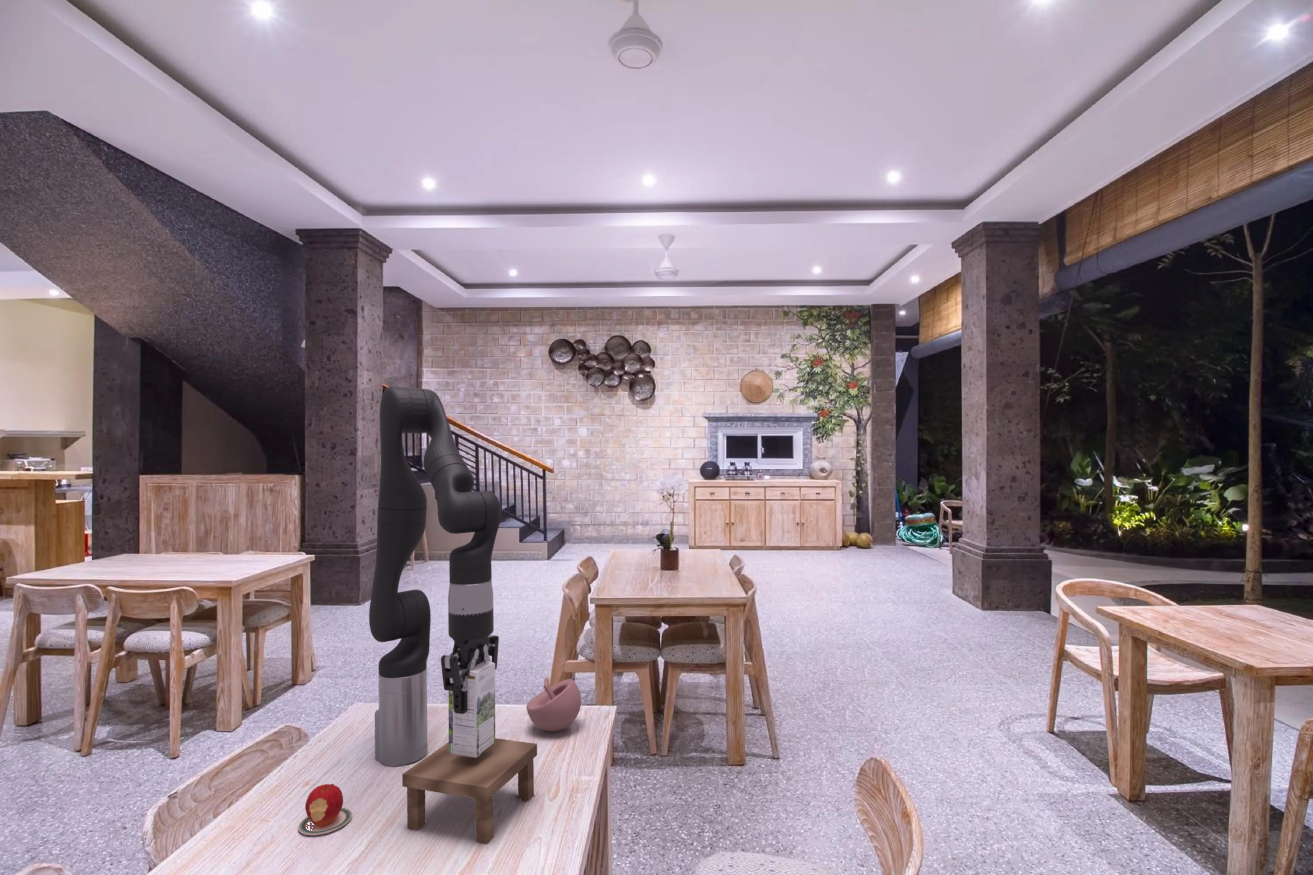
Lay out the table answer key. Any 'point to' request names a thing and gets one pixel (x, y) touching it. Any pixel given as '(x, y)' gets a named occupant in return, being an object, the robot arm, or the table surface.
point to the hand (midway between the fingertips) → (472, 705)
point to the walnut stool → (470, 780)
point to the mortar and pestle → (555, 706)
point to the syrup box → (474, 714)
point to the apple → (324, 811)
